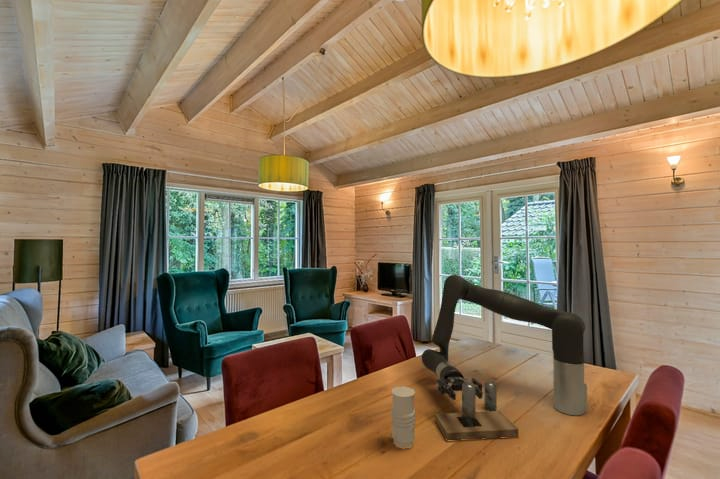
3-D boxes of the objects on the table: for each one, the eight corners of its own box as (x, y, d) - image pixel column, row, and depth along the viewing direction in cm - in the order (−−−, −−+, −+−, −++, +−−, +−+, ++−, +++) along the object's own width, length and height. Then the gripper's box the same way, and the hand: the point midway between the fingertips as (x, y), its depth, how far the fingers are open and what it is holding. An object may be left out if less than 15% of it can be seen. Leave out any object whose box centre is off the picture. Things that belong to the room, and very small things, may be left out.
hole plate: (499, 418, 112) (499, 410, 112) (518, 437, 101) (518, 429, 101) (435, 421, 110) (435, 413, 110) (447, 441, 99) (447, 433, 99)
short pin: (493, 405, 121) (493, 380, 121) (498, 411, 117) (498, 385, 117) (482, 406, 121) (482, 380, 121) (487, 411, 117) (487, 385, 117)
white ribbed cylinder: (414, 451, 94) (414, 398, 95) (390, 448, 96) (390, 395, 96) (415, 437, 101) (415, 387, 101) (392, 435, 103) (392, 385, 103)
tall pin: (472, 425, 108) (472, 381, 108) (477, 432, 104) (477, 387, 104) (460, 426, 108) (460, 382, 108) (465, 433, 104) (465, 387, 104)
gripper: (430, 366, 122) (445, 385, 106) (468, 364, 123) (489, 383, 107) (430, 386, 122) (445, 409, 106) (468, 385, 123) (489, 407, 107)
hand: (467, 396), depth 107 cm, fingers open, 8 cm apart
